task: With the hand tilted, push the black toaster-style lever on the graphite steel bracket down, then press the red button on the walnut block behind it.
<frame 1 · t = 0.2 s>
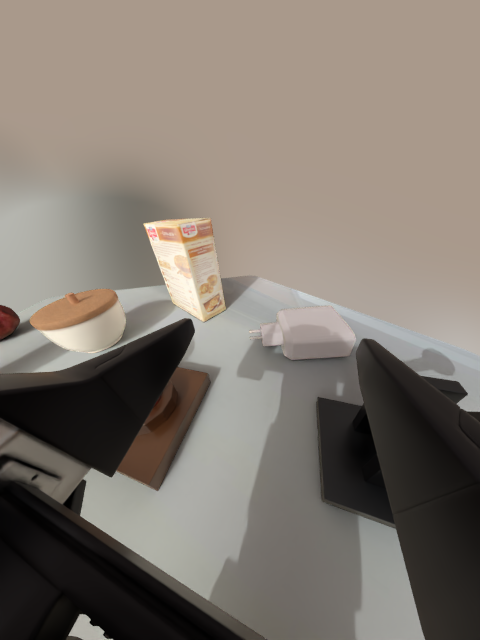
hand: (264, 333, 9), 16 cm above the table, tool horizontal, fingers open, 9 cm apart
coffeecake box: (198, 307, 44), on the table
lidded bowl: (104, 341, 36), on the table
toaster bracket: (380, 459, 16), on the table
fruit: (4, 337, 42), on the table
charger: (292, 342, 31), on the table
button block: (156, 414, 22), on the table
button: (142, 395, 20), point 4 cm above the table, slide at 0.1 cm
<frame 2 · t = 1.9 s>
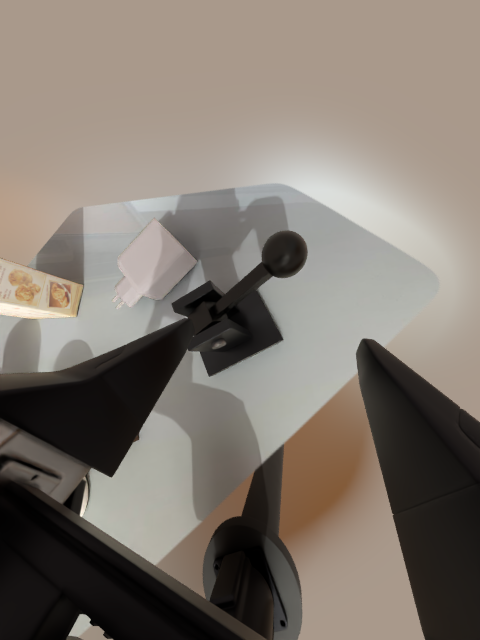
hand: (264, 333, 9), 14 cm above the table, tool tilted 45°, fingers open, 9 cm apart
coffeecake box: (57, 302, 37), on the table
lever: (241, 291, 15), point 10 cm above the table, hinge at 22.0°
toaster bracket: (233, 329, 24), on the table
charger: (156, 279, 30), on the table
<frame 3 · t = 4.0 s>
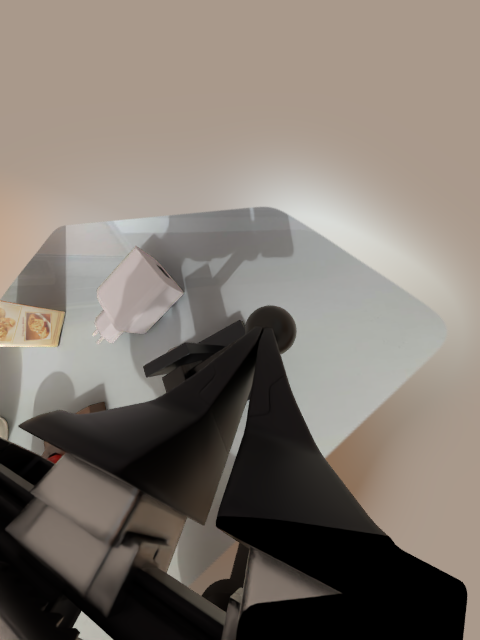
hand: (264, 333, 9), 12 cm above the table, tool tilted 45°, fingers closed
coffeecake box: (39, 329, 35), on the table
lever: (222, 358, 13), point 9 cm above the table, hinge at 17.8°, touching gripper
toaster bracket: (221, 370, 22), on the table
charger: (141, 309, 28), on the table
button block: (88, 453, 26), on the table
button: (48, 473, 22), point 4 cm above the table, slide at 0.1 cm
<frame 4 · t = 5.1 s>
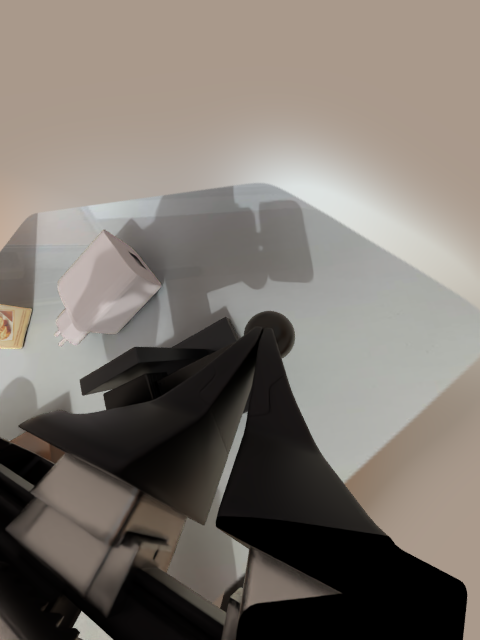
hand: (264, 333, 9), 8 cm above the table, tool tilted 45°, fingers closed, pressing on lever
coffeecake box: (4, 329, 31), on the table
lever: (207, 366, 11), point 7 cm above the table, hinge at -10.5°, touching gripper
toaster bracket: (203, 378, 18), on the table
charger: (114, 305, 24), on the table
button block: (48, 475, 22), on the table
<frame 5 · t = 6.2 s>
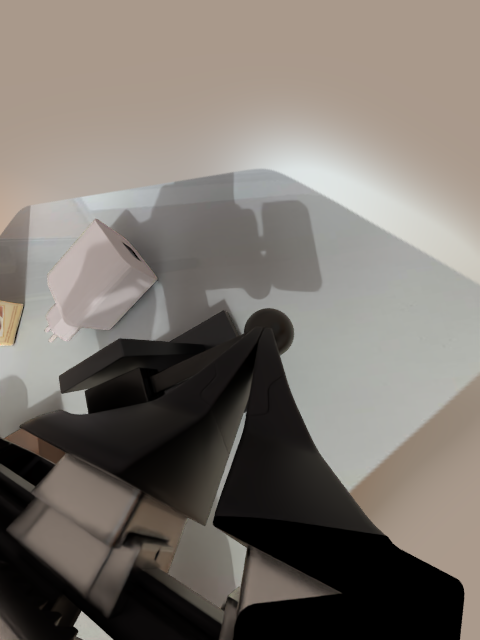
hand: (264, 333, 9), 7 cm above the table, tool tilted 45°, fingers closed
lever: (205, 361, 10), point 6 cm above the table, hinge at -19.6°
toaster bracket: (200, 376, 17), on the table
charger: (108, 300, 23), on the table
button block: (38, 478, 21), on the table
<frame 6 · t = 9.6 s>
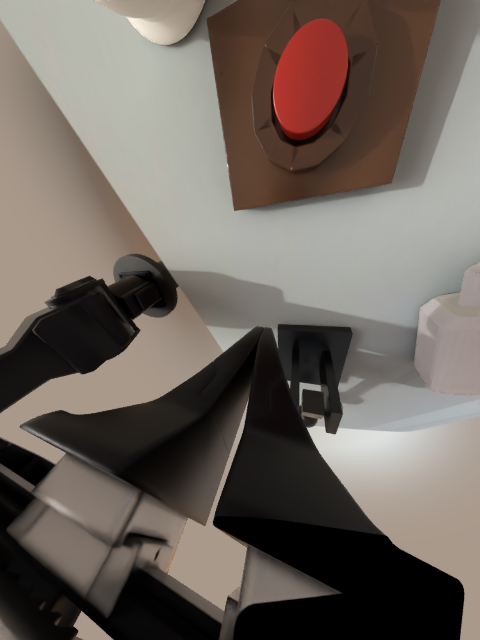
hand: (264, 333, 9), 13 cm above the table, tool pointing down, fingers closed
lever: (308, 410, 23), point 6 cm above the table, hinge at -19.6°
toaster bracket: (309, 354, 26), on the table
charger: (476, 304, 17), on the table
button block: (305, 118, 13), on the table
button: (307, 90, 9), point 4 cm above the table, slide at 0.1 cm
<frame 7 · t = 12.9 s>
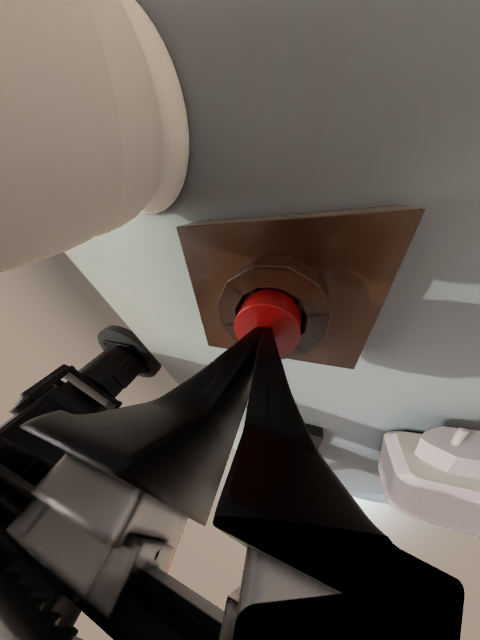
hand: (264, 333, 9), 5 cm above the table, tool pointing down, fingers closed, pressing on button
jar: (131, 130, 10), on the table
charger: (434, 440, 18), on the table
button block: (277, 290, 13), on the table
button: (267, 323, 10), point 4 cm above the table, slide at 0.0 cm, touching gripper
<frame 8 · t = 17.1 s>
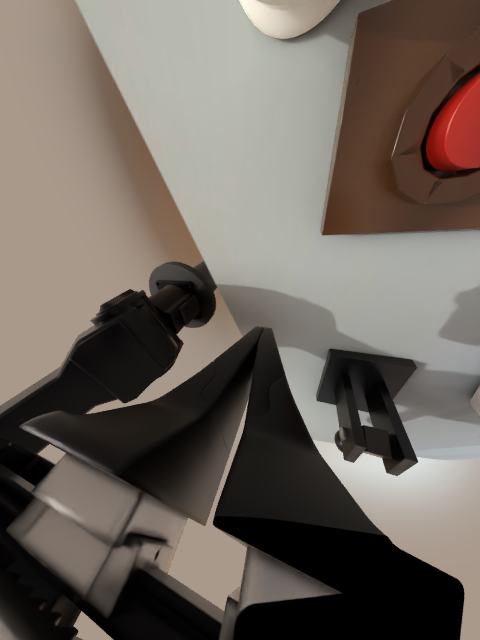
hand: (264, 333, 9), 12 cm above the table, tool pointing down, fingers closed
lever: (356, 441, 22), point 6 cm above the table, hinge at -19.6°
toaster bracket: (355, 380, 25), on the table
button block: (433, 140, 11), on the table
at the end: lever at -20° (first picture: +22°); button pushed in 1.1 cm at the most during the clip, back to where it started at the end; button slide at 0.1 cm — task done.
